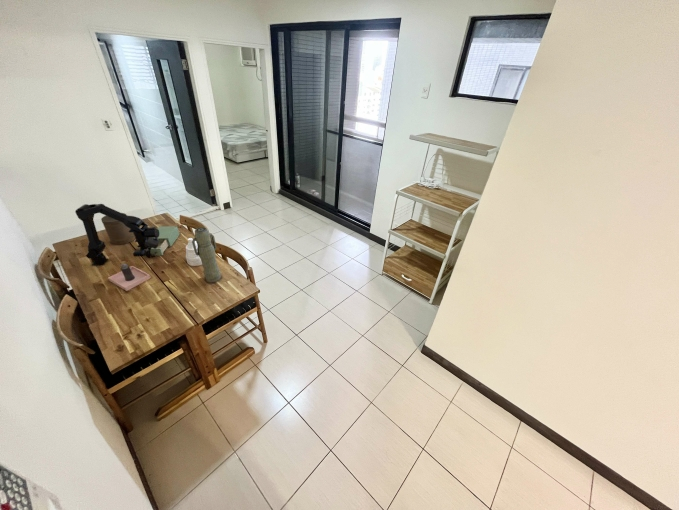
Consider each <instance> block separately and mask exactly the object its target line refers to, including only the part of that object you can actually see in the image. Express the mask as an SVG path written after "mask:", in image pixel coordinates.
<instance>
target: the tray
mask: <svg viewBox="0 0 679 510" xmlns="http://www.w3.org/2000/svg"><path fill="white" fill-rule="evenodd" d="M129 267H130V269H131V271H132V274H133V275H134V276H135V279H133V280H132V281H126V280H125V277H124V275H123V273H122V271H121V270H120V271H119V272H117V273H115V274H113V275H111V276H109V277H107V279H108V281H109V282H111V283H112V284H113V285H115V286H117V287H119V288H120V289H122V290H124V291H126V292H128V291H130V290H131V289H133V288H136V287H137V286H139V285H141V284H143V283H144V282H147V281H148V280H149V279H151V278H152V277H151V275H150V274H149V273H147V272H145V271H144V270H141V269H140V268H138V267H136V266H134V265H131V266H129Z"/></svg>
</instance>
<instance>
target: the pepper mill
mask: <svg viewBox="0 0 679 510" xmlns="http://www.w3.org/2000/svg"><path fill="white" fill-rule="evenodd" d="M130 267H131V266H130V265H128V264H127V263H122V264H120V272H121V271H122V273H123V275H124V277H125V280H126V281H132V280H133V279H135V276H134V275H133V274H132V271H131V269H130Z"/></svg>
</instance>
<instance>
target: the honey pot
mask: <svg viewBox="0 0 679 510" xmlns="http://www.w3.org/2000/svg"><path fill="white" fill-rule="evenodd" d="M193 239H194V238H192V237H189V238H187V241H188V242H187V244H186V245H185V260H186V262H187V264H188V265H189V266H191V267H198V266H203V265H202V261H201V258H200V257H199V255H198V256H197V255H196V254H195V251H194V248H193V244H192V240H193ZM195 246H196V249H197V247H198V246H197V242H196V241H195ZM197 252H198V250H197Z"/></svg>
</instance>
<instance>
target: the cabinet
mask: <svg viewBox="0 0 679 510" xmlns="http://www.w3.org/2000/svg"><path fill="white" fill-rule="evenodd" d="M157 229H158V230H159V237H157V238H158V239H167V240H168V243H169V245H168V247H169V248H170V247H171V248H172V246H173V245H174V243H175V241H176V240H177V239H178V238H179V236H180V230H179V228H178V226H174V225H171V226H168V225H167V226H158V227H157ZM168 247H167V248H168Z"/></svg>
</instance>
